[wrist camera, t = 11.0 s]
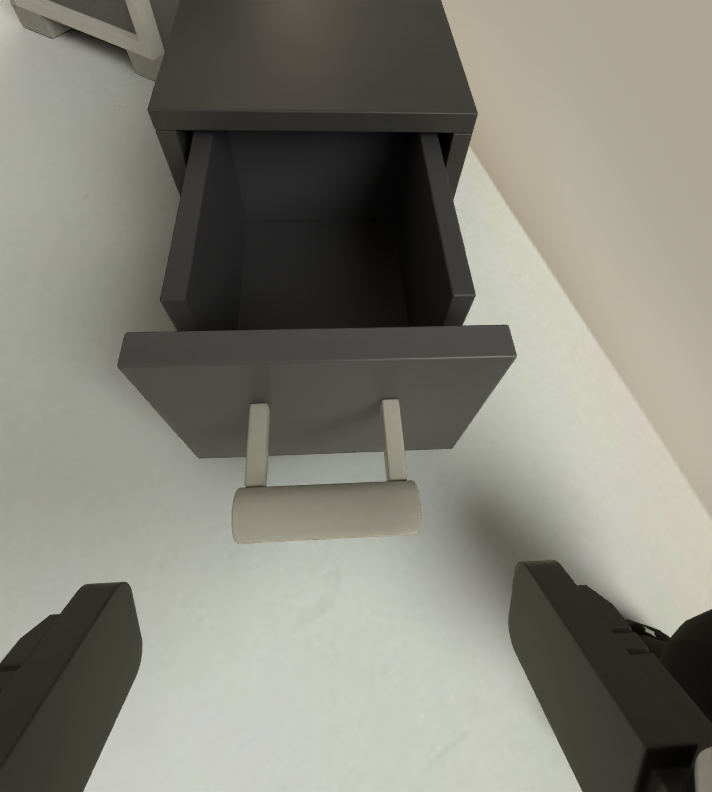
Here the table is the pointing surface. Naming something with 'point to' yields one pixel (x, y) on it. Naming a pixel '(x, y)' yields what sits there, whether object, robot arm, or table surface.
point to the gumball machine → (685, 656)
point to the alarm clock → (108, 24)
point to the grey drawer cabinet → (312, 73)
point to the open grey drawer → (317, 322)
